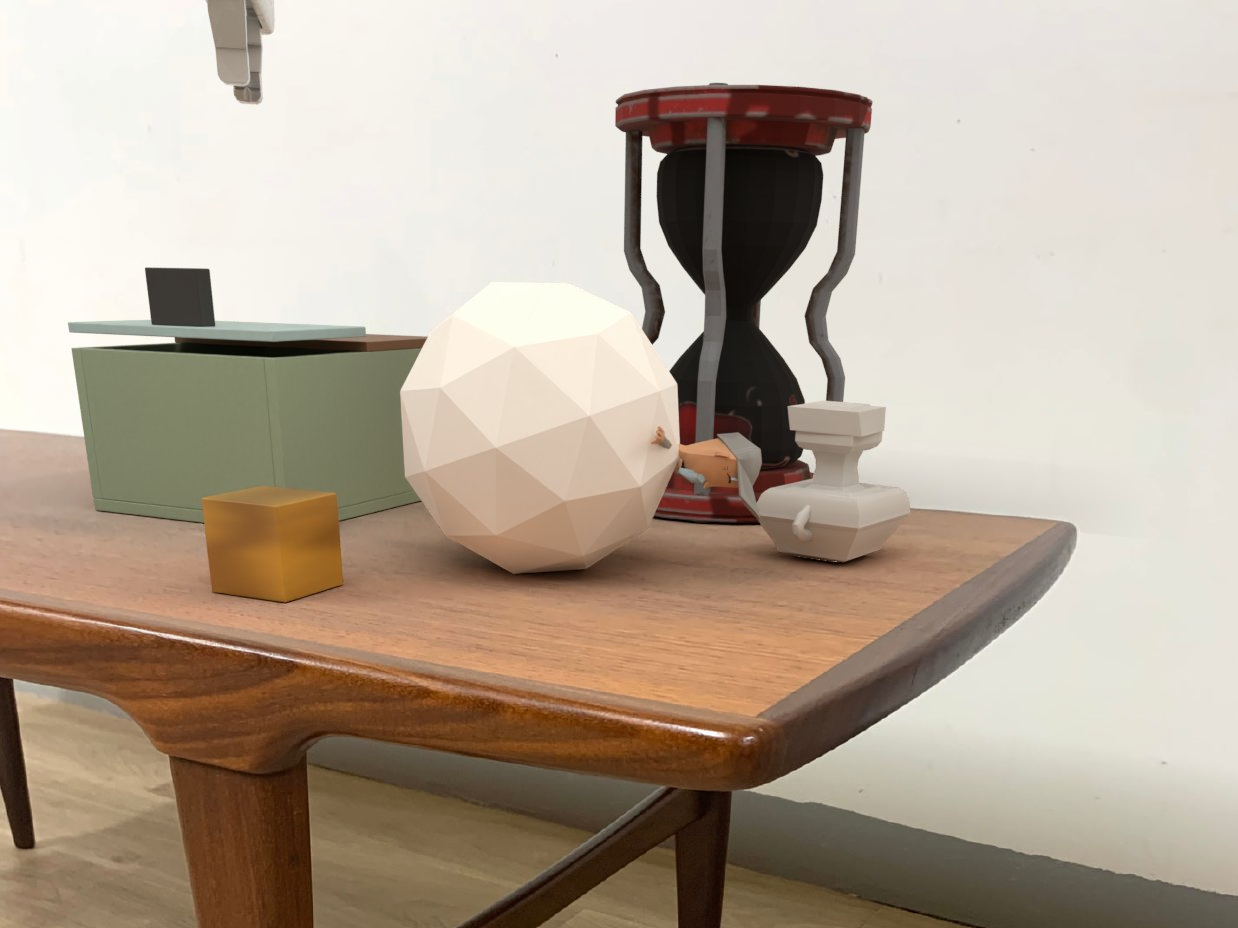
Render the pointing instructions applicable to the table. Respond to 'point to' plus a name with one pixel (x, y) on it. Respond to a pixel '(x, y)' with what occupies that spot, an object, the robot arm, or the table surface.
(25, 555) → the table surface
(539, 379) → the person on sphere
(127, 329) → the blue-grey flat panel
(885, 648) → the table surface
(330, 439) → the case
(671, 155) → the hourglass
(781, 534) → the beige squat bottle
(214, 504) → the block
